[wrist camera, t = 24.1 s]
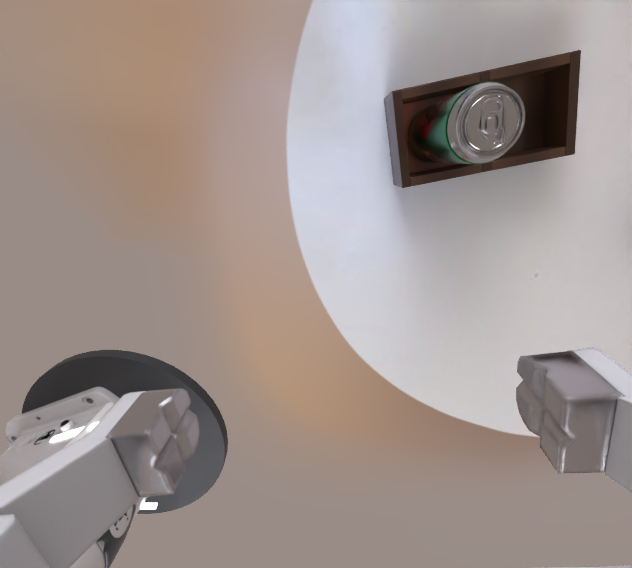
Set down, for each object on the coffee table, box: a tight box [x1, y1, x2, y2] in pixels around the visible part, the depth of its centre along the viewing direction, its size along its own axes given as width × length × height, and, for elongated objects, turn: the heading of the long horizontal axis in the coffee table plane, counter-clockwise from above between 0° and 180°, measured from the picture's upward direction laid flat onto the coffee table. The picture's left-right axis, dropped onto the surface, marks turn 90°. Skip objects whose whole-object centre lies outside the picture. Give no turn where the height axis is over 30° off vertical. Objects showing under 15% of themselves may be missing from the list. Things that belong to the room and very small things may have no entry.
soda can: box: [409, 82, 525, 164], centre depth 28 cm, size 5×5×12 cm
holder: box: [384, 50, 581, 188], centre depth 32 cm, size 15×8×4 cm, turn 101°
